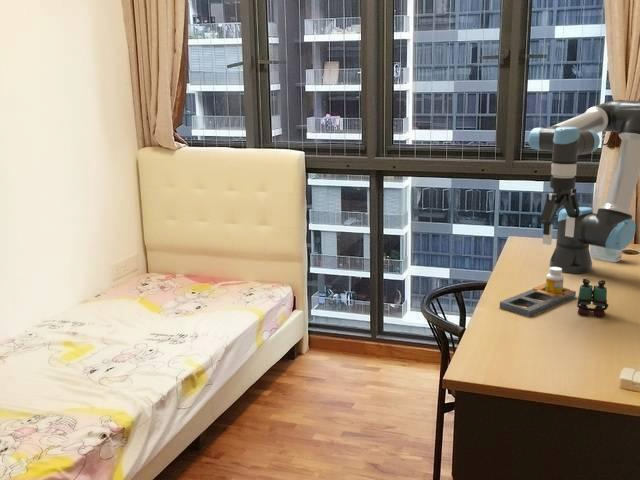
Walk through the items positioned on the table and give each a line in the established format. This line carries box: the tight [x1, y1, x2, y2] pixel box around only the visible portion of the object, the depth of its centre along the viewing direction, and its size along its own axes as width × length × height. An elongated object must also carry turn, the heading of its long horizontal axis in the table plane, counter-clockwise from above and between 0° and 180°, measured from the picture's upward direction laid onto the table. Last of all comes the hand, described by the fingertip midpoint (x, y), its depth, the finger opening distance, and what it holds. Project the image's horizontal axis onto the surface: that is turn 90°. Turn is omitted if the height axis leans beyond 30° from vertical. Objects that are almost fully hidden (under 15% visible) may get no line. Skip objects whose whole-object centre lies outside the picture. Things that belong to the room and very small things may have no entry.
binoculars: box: [576, 278, 609, 319], centre depth 207 cm, size 9×11×10 cm
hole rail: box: [499, 282, 577, 318], centre depth 219 cm, size 27×11×2 cm, turn 131°
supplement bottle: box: [545, 266, 564, 294], centre depth 223 cm, size 5×5×10 cm
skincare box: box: [589, 245, 623, 264], centre depth 265 cm, size 10×6×10 cm, turn 43°
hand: (558, 240), depth 220 cm, fingers open, 13 cm apart
